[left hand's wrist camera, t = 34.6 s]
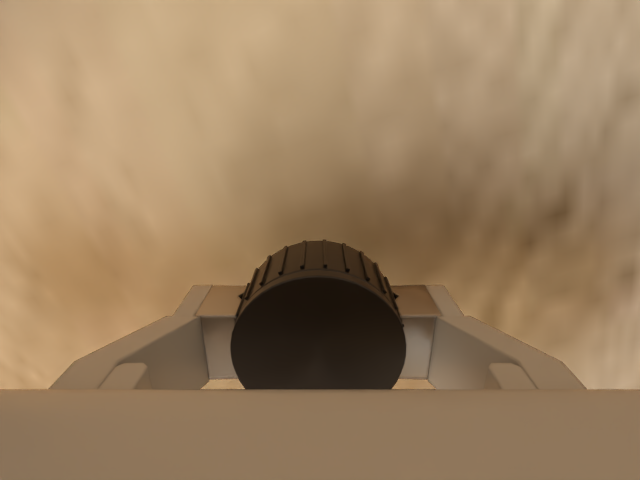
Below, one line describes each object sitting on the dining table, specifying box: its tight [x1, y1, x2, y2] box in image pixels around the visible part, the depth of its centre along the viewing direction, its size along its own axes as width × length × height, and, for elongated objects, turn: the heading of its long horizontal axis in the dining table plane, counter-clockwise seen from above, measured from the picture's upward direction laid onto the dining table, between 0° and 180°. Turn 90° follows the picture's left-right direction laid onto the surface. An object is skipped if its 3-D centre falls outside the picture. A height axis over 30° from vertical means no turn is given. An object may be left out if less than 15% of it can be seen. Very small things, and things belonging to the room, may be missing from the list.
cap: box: [230, 240, 406, 389], centre depth 9 cm, size 4×4×2 cm
